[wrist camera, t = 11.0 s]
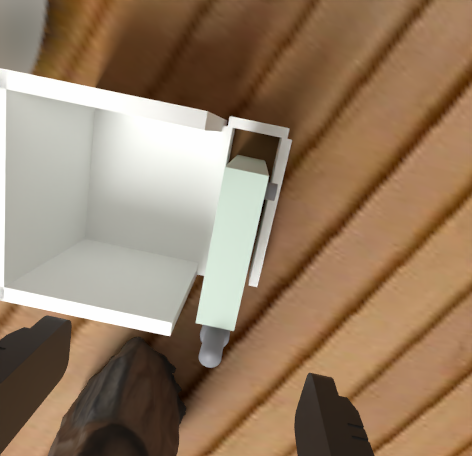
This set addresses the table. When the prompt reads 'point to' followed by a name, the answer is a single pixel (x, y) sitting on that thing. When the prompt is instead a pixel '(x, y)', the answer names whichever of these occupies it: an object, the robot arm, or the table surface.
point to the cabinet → (114, 202)
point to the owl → (125, 409)
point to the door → (233, 240)
